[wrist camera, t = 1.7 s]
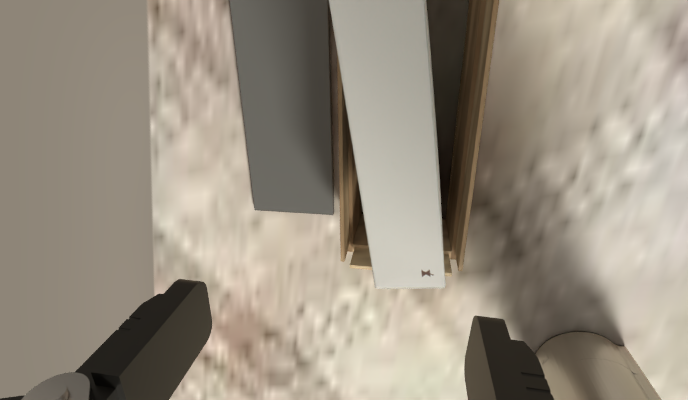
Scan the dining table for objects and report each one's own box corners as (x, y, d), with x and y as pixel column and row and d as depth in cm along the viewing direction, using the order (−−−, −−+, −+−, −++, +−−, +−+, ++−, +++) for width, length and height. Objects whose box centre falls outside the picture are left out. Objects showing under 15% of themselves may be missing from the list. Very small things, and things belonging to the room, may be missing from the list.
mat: (327, -57, 32) (325, -58, 31) (334, 212, 42) (333, 215, 41) (226, -52, 33) (223, -53, 33) (256, 207, 43) (254, 210, 43)
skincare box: (358, -25, 32) (315, -69, 18) (423, -39, 31) (432, -98, 17) (387, 200, 40) (374, 293, 26) (440, 195, 39) (456, 291, 25)
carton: (488, -82, 29) (520, -128, 21) (452, 226, 40) (463, 279, 32) (353, -74, 31) (330, -114, 22) (353, 220, 42) (338, 268, 33)
